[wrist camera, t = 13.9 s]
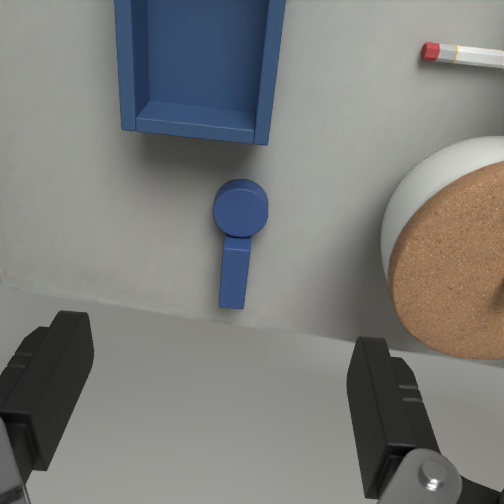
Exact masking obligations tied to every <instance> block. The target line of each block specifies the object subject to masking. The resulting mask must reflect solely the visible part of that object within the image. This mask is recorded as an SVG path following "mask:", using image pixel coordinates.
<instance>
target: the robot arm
mask: <svg viewBox="0 0 504 504" xmlns="http://www.w3.org/2000/svg"><path fill="white" fill-rule="evenodd" d="M93 359H94V347H93V340H92V334H91V327H90V320H89V316H88V314H87V313H86V312H73V311H63V310H62V311H59V312H58V313H57V315H56V317H55V318H54V320H53V321H52V323H51V325H50V327H38V328H37V329H36V330H34V331H33V332H32V333H30V334H29V335H28V336H27V337H25V338H24V340H23V341H22V343H21V344H20V346H19V347H18V349H17V350H16V352H15V355H14V356H13V357H12V358H11V360H10V361H9V363H8V365H7V367H6V368H5V369H4V371H3V372H2V374H1V375H0V504H31V501H30V498H29V494H28V491H27V488H26V482H27V480H28V478H29V476H30V474H31V472H32V470H37V471H47V469H48V467H49V465H50V462H51V460H52V458H53V456H54V453H55V451H56V449H57V447H58V444H59V442H60V440H61V437H62V435H63V433H64V430H65V428H66V426H67V423H68V421H69V419H70V417H71V414H72V412H73V410H74V407H75V405H76V403H77V401H78V398H79V396H80V394H81V392H82V389H83V387H84V385H85V382H86V380H87V378H88V375H89V373H90V371H91V368H92V364H93ZM347 395H348V401H349V407H350V413H351V419H352V425H353V431H354V436H355V442H356V448H357V454H358V460H359V466H360V471H361V478H362V483H363V489H364V495H365V498H367V499H368V498H369V499H378V502H377V504H504V489H503V491H502V492H498V491H496V490H493V489H490V488H488V487H485V486H483V485H480V484H477V483H475V482H472V481H470V480H468V479H466V478H464V477H463V476H461V475H460V474H459V472H458V471H457V469H456V468H455V466H454V465H453V464H452V463H451V462H450V461H449V460H448V459H447V458H446V457H444V456H443V455H442V454H441V452H440V450H439V447H438V444H437V441H436V438H435V435H434V433H433V430H432V426H431V423H430V420H429V417H428V415H427V412H426V409H425V406H424V403H422V397H421V394H420V391H419V390H418V385H417V382H416V379H415V376H414V373H413V371H412V370H411V369H410V367H409V366H408V365H407V364H406V363H405V361H404V360H403V359H402V358H399V357H398V358H397V357H390V353H389V350H388V347H387V343H386V341H385V339H383V338H373V337H361V336H359V337H358V338H357V340H356V344H355V347H354V351H353V355H352V358H351V362H350V365H349V369H348V373H347Z"/></svg>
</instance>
